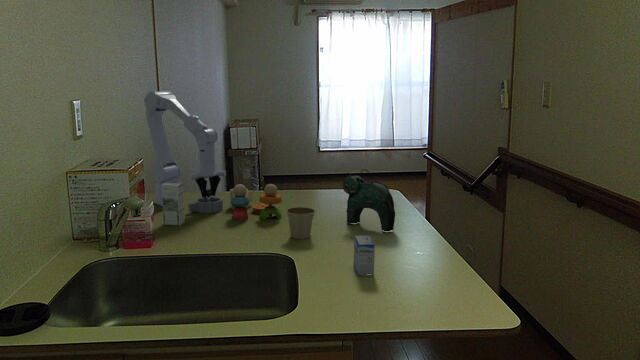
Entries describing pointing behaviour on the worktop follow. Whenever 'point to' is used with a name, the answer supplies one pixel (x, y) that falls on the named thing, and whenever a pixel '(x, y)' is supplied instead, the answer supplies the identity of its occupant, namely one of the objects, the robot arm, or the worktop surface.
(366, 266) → the medicine box
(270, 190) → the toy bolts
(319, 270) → the worktop surface
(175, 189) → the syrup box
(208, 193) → the plunger
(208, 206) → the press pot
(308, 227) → the flower pot
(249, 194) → the beige rounded domed part
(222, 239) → the worktop surface
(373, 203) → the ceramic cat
